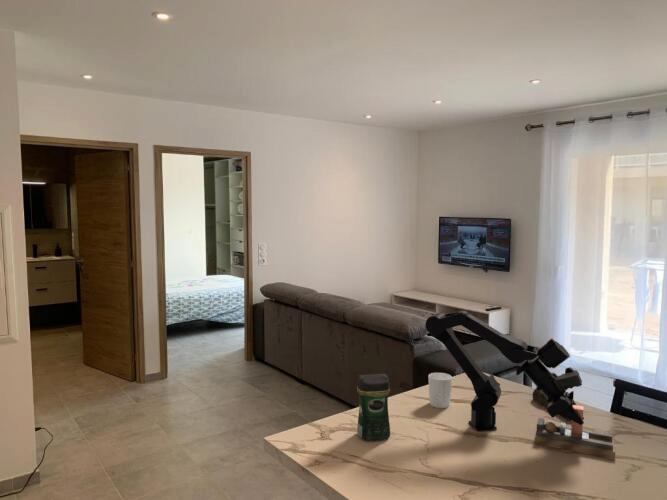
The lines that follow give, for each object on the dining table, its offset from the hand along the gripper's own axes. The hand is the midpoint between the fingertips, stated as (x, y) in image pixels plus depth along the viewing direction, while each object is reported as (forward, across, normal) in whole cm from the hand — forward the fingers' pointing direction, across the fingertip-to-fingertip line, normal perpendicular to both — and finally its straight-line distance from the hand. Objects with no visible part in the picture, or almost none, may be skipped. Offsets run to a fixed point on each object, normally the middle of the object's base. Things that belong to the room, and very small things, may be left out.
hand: (582, 421), depth 139 cm
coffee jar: (-34, -22, +44) cm, 60 cm away
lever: (+2, 0, +5) cm, 5 cm away
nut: (-2, 0, +9) cm, 10 cm away
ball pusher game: (+4, 0, +6) cm, 7 cm away
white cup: (-26, +11, +36) cm, 46 cm away
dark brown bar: (-2, +24, +12) cm, 27 cm away
